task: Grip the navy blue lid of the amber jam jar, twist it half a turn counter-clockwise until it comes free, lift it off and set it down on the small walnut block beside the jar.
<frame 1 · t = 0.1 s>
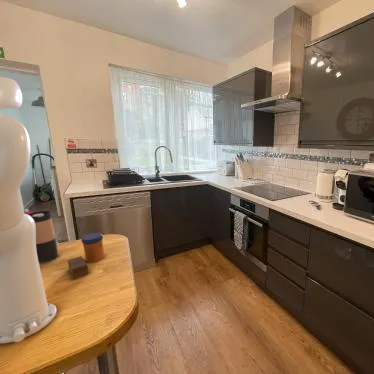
jam jar: (95, 257, 93), on the table
jar lid: (92, 237, 90), point 10 cm above the table, screwed on, not yet turned
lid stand: (78, 271, 83), on the table
travel mug: (47, 258, 92), on the table
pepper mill: (34, 251, 97), on the table
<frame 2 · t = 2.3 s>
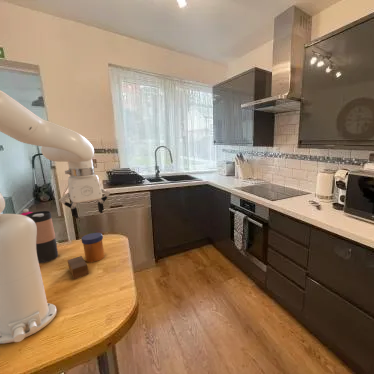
hand: (88, 214, 88), 20 cm above the table, tool pointing down, fingers open, 7 cm apart
nothing on the table moved.
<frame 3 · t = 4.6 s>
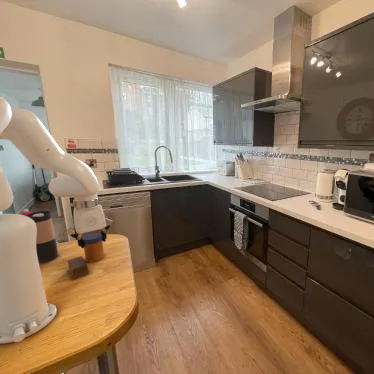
hand: (93, 243, 91), 7 cm above the table, tool pointing down, fingers closed on jar lid, 7 cm apart
jar lid: (92, 237, 91), point 10 cm above the table, screwed on, not yet turned, touching gripper
everything else where it was.
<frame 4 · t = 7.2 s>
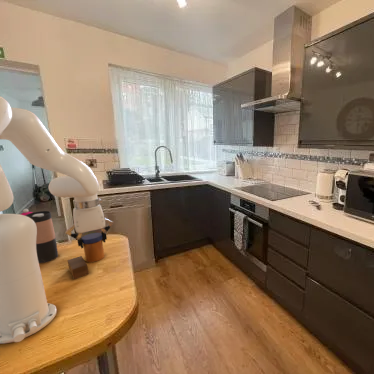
hand: (93, 243, 91), 7 cm above the table, tool pointing down, fingers closed on jar lid, 7 cm apart
jar lid: (92, 236, 90), point 10 cm above the table, off its thread, touching gripper
everything else where it was.
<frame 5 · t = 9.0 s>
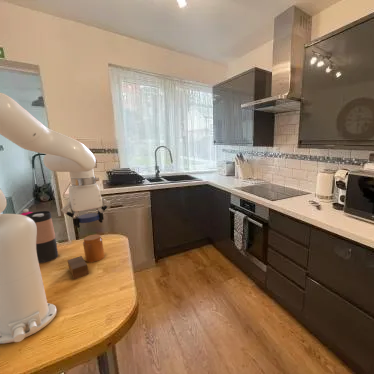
hand: (89, 223, 89), 16 cm above the table, tool pointing down, fingers closed on jar lid, 7 cm apart
jar lid: (88, 216, 88), point 19 cm above the table, off its thread, touching gripper
everything else where it was.
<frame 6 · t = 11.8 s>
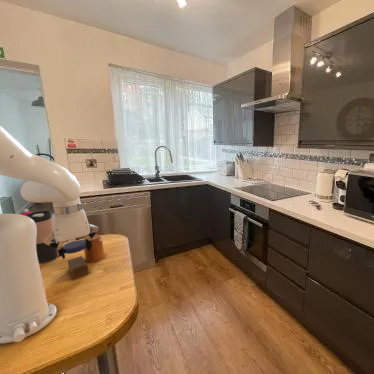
hand: (76, 252, 82), 8 cm above the table, tool pointing down, fingers closed on jar lid, 7 cm apart
jar lid: (74, 245, 81), point 11 cm above the table, off its thread, touching gripper
everything else where it was.
when the fingers open (2 cm above the table, at t = 13.8 s): jar lid stays where it is, resting on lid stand.
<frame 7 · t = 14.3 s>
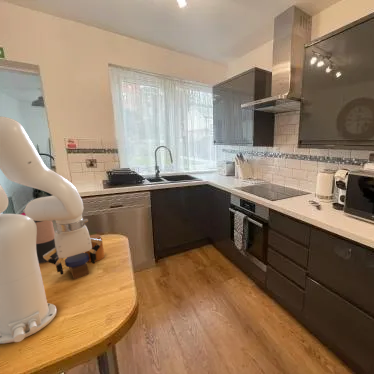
hand: (78, 267, 83), 2 cm above the table, tool pointing down, fingers open, 9 cm apart
jar lid: (77, 258, 82), point 5 cm above the table, off its thread, touching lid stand
everything else where it was.
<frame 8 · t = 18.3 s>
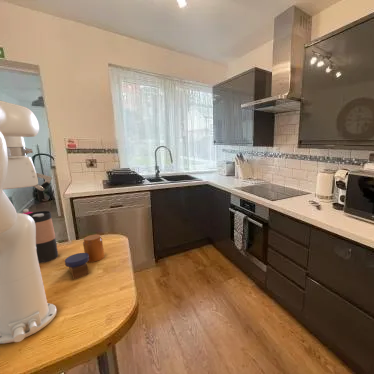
hand: (21, 204, 72), 28 cm above the table, tool pointing down, fingers open, 9 cm apart
nothing on the table moved.
at the end: jar lid came off its thread; jar lid touching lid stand; the gripper is holding nothing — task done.
